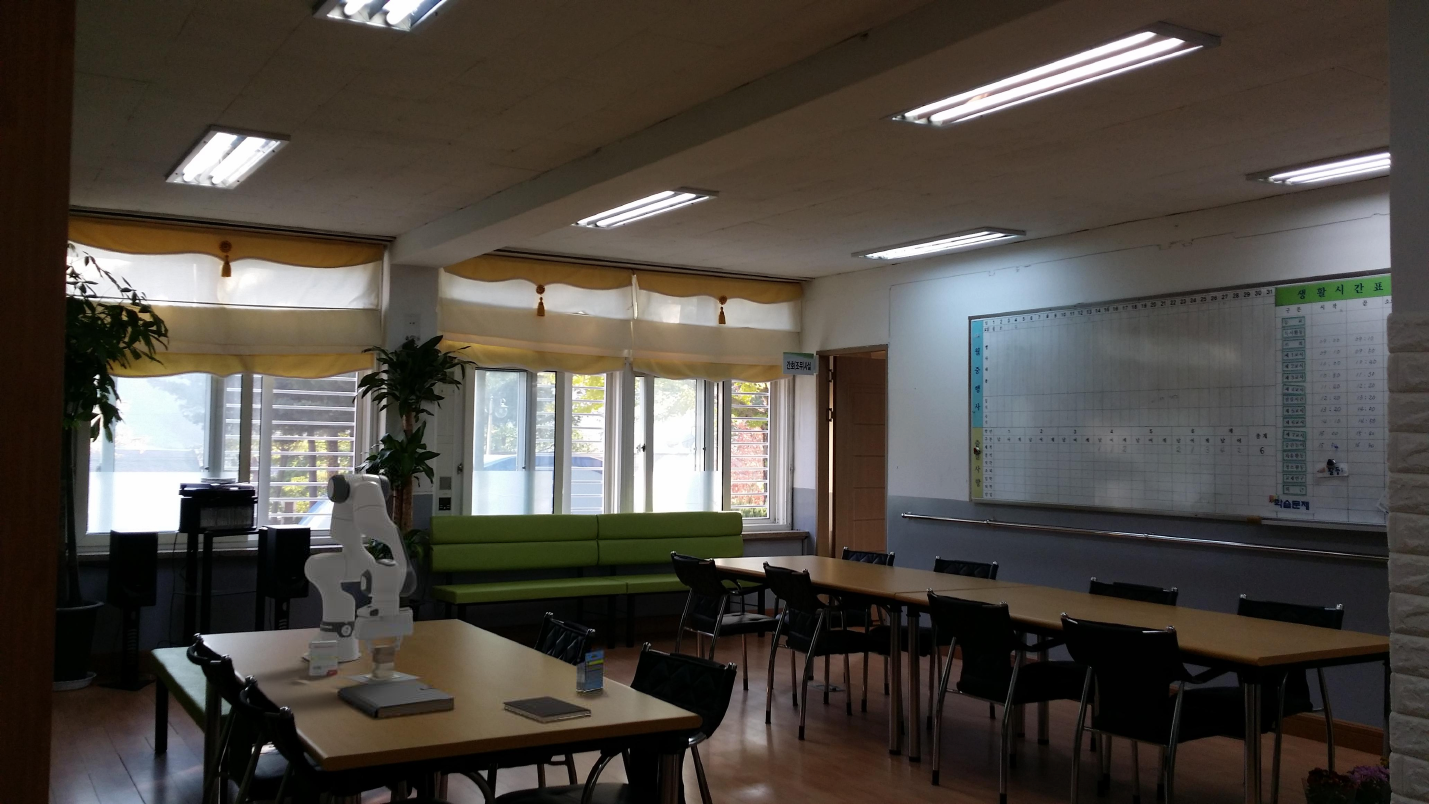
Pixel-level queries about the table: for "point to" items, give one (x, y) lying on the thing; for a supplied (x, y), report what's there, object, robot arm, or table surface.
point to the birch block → (382, 670)
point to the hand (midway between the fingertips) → (383, 651)
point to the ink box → (323, 658)
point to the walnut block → (383, 654)
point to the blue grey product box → (590, 672)
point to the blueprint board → (370, 680)
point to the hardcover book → (546, 708)
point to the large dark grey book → (396, 698)
